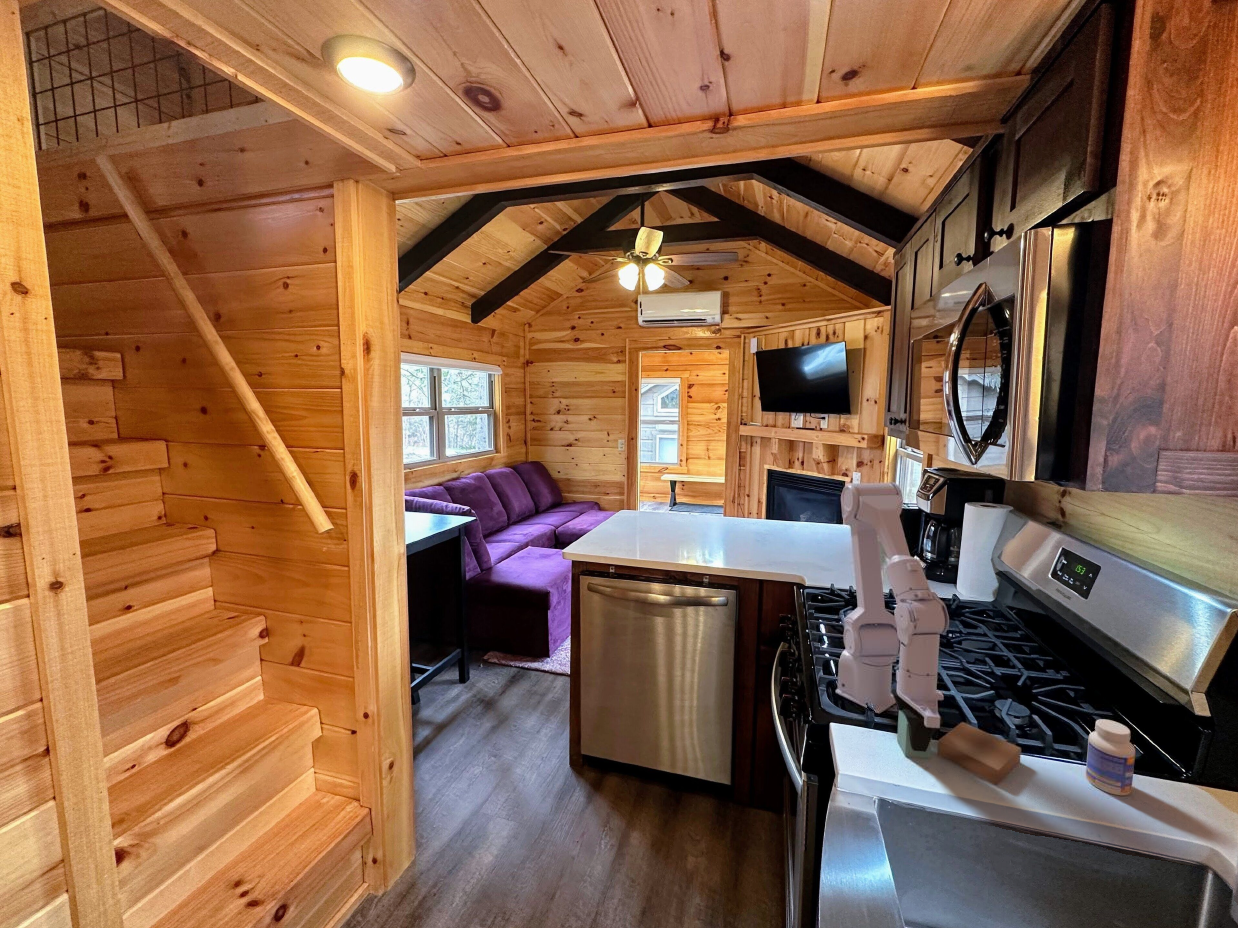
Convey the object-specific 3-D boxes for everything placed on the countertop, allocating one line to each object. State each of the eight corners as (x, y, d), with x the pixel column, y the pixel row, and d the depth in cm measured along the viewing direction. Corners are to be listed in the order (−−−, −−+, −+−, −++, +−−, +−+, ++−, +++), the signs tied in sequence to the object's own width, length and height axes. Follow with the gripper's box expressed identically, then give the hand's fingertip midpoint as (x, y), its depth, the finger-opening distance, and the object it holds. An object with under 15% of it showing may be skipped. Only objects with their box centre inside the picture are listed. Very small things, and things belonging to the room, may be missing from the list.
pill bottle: (1133, 801, 80) (1140, 742, 79) (1086, 786, 84) (1092, 729, 82) (1128, 780, 85) (1134, 723, 84) (1083, 767, 88) (1088, 712, 87)
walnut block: (936, 756, 92) (937, 740, 91) (961, 736, 97) (962, 721, 96) (996, 787, 84) (998, 770, 84) (1019, 764, 90) (1021, 747, 89)
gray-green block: (905, 756, 91) (906, 723, 91) (897, 741, 95) (898, 710, 95) (930, 758, 91) (932, 725, 90) (921, 743, 95) (923, 711, 94)
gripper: (963, 692, 83) (957, 772, 85) (926, 648, 97) (922, 718, 99) (914, 688, 85) (909, 767, 86) (885, 646, 99) (882, 714, 100)
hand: (913, 741), depth 93 cm, fingers closed on gray-green block, 4 cm apart
